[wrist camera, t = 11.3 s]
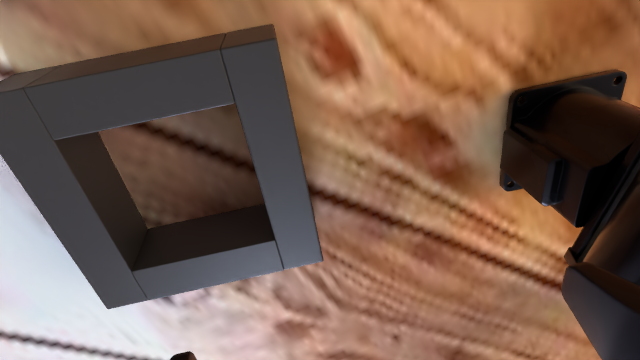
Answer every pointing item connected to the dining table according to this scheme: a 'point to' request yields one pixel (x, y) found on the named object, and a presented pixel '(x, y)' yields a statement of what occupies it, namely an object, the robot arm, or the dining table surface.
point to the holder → (111, 193)
